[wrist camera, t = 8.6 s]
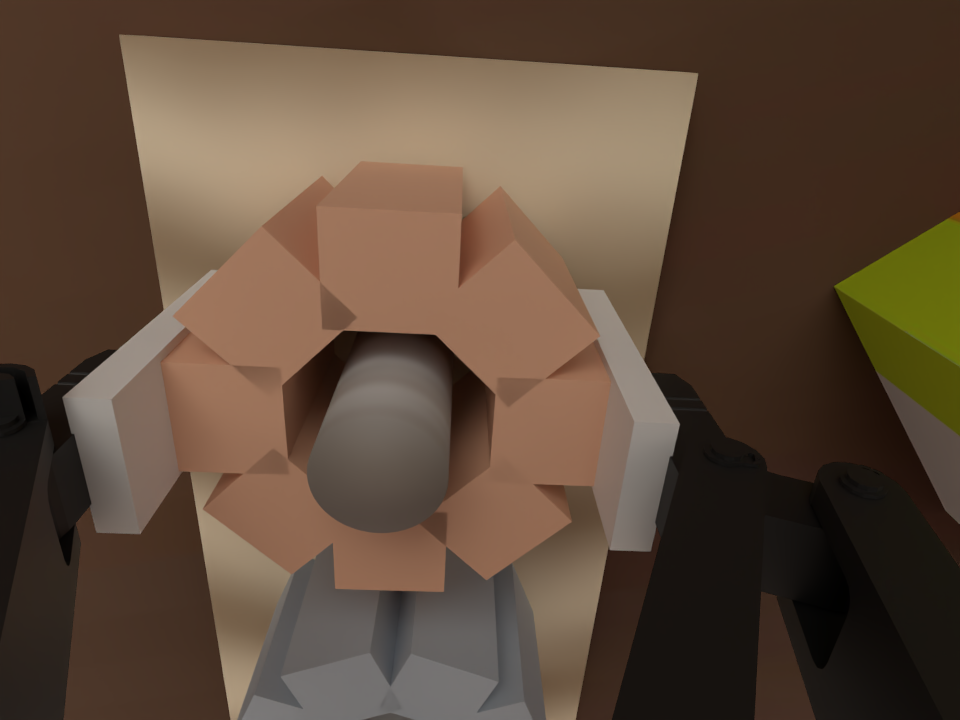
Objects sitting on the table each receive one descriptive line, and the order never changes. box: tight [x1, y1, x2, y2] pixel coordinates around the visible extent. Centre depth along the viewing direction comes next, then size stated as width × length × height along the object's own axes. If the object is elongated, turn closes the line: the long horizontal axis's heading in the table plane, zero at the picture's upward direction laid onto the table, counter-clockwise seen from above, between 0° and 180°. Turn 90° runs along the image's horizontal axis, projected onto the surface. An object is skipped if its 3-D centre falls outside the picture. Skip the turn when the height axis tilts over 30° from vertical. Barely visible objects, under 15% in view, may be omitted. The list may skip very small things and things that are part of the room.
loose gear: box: [160, 161, 611, 592], centre depth 15 cm, size 8×8×5 cm
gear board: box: [119, 35, 698, 720], centre depth 17 cm, size 24×13×8 cm, turn 177°
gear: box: [237, 543, 546, 720], centre depth 20 cm, size 8×8×5 cm
